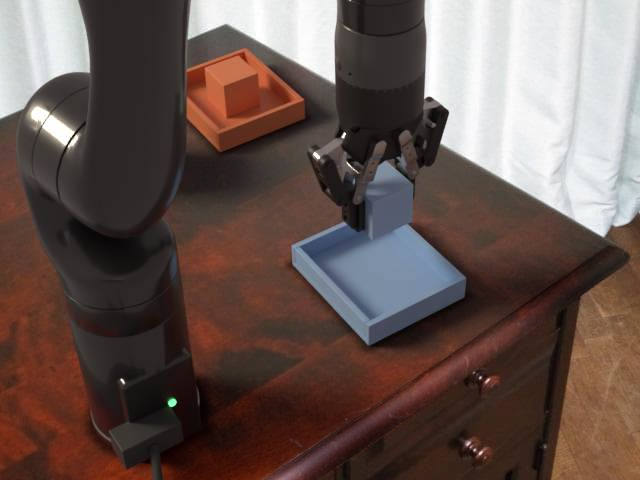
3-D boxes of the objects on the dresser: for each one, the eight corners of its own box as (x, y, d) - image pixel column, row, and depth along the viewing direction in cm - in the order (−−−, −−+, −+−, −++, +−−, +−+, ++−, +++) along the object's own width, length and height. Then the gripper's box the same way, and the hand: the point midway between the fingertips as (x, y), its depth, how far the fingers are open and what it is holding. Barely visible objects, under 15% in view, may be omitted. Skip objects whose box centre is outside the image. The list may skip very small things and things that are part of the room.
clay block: (260, 105, 133) (258, 73, 130) (226, 118, 131) (223, 86, 128) (241, 87, 136) (238, 55, 133) (207, 100, 134) (204, 67, 131)
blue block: (412, 221, 106) (413, 184, 103) (372, 240, 104) (372, 203, 101) (383, 196, 109) (384, 158, 106) (344, 214, 107) (343, 176, 104)
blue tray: (464, 297, 110) (466, 277, 108) (368, 346, 105) (368, 326, 104) (384, 222, 118) (384, 203, 116) (292, 264, 114) (291, 245, 112)
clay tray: (305, 118, 132) (304, 99, 130) (220, 152, 127) (218, 133, 126) (247, 65, 140) (245, 47, 138) (165, 96, 136) (162, 77, 134)
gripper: (333, 112, 90) (337, 269, 101) (476, 52, 95) (464, 208, 107) (282, 67, 94) (291, 223, 106) (422, 13, 100) (416, 167, 111)
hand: (378, 215), depth 106 cm, fingers closed on blue block, 4 cm apart
